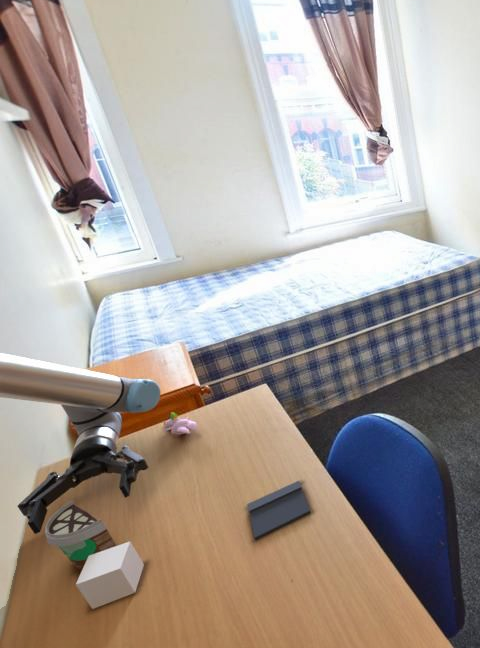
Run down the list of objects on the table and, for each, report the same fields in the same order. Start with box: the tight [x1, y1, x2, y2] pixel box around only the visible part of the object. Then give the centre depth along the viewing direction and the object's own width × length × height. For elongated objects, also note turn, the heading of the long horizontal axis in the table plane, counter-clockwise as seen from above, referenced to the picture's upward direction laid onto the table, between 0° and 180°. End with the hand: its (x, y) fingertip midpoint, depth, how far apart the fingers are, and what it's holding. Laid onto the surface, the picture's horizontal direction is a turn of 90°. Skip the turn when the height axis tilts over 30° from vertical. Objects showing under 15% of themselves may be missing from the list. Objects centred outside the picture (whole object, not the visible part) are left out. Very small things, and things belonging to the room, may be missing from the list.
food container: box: [44, 499, 117, 572], centre depth 84 cm, size 12×6×10 cm, turn 62°
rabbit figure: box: [162, 411, 198, 435], centre depth 120 cm, size 6×6×15 cm
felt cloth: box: [247, 480, 311, 541], centre depth 93 cm, size 10×10×1 cm
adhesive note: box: [75, 540, 145, 610], centre depth 80 cm, size 6×6×6 cm
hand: (80, 509), depth 89 cm, fingers open, 13 cm apart
